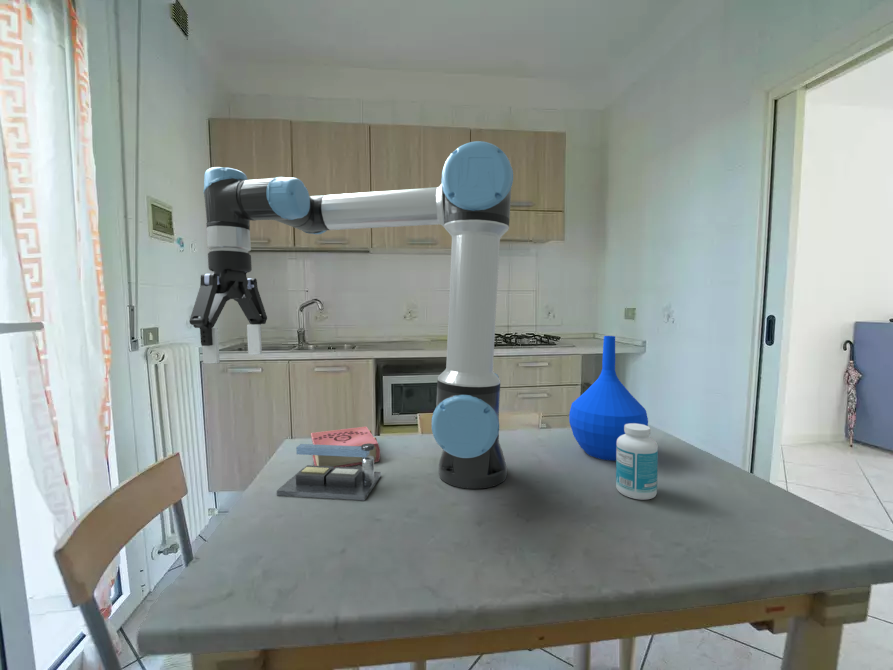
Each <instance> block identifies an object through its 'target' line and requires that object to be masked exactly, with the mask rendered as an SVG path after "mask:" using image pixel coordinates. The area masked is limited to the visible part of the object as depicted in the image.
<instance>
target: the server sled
mask: <svg viewBox="0 0 893 670" xmlns="http://www.w3.org/2000/svg"><path fill="white" fill-rule="evenodd" d="M381 472H382V471H375V462H374V457H373V456H367V457H362V464H361V467H354V466H348V467H335V468H334V467H333V466H315V465H313V464H311V465H310V464H307V465H306V466H304V467H303V468H301V469H300V470H299V471H298V472H297V473H295V474H294V475H293V476H292V477H291V478H290V479H288V480H287V481H286V482H285V483H283V485H282V486H280V487H279V488H278V489H277V490H276V496H281V497H298V498H299V497H300V498H312V499H313V498H314V499H331V500H350V501H366V499H368V496H369V495H370V493H371V492H372V490H373V488H374V487H375V486H376V485H377V482H378V481H379V480H380V478H381V477H382V473H381Z"/></svg>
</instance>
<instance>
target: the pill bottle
mask: <svg viewBox="0 0 893 670" xmlns="http://www.w3.org/2000/svg"><path fill="white" fill-rule="evenodd" d="M624 431H625V433H626V434H624V435H621V436H620V437H618V439H617V449H616V461H615V463H616V464H615V467H616V468H615V487H616V490H617V491H618V493H620V494H621V495H622V496H625V497H628V498H630V499H633V500H644V501H645V500H650V499H654V498H655V497H656V495H657V493H658V465H659V464H658V463H659V461H658V458H659V457H658V456H659V454H658V453H659V452H658V451H659V446H658V443H657V441H656V440H655V439H654V438H652V437H650V435H651V433H652V432H651V427H650V426H649V425H648V426H646V425H643V424H636V423H630V424H625V425H624Z"/></svg>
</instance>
